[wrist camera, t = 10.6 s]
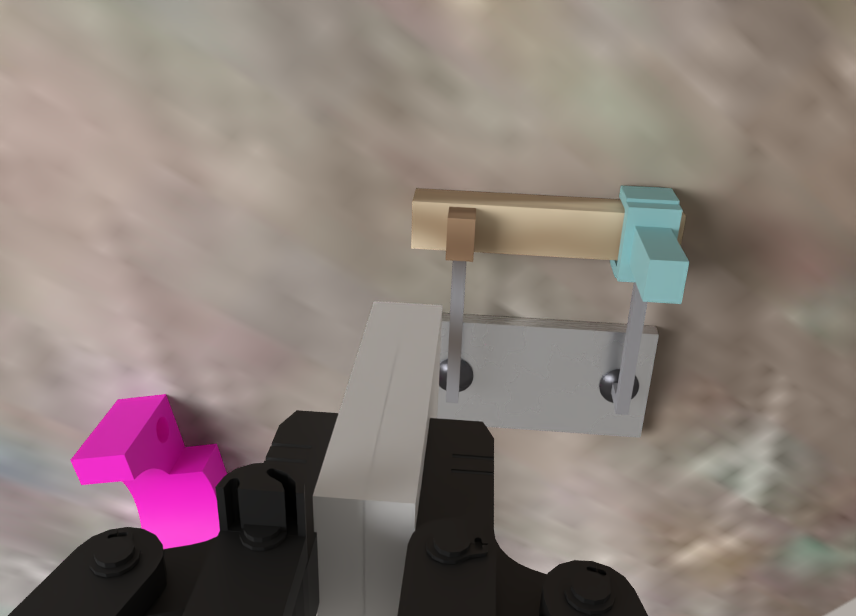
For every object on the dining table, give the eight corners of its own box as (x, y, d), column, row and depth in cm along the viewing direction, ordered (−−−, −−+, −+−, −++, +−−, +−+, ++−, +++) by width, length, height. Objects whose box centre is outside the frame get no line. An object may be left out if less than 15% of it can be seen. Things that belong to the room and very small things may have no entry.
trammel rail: (416, 188, 50) (409, 212, 46) (677, 202, 49) (693, 228, 45) (411, 369, 56) (404, 404, 52) (645, 384, 55) (657, 422, 51)
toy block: (253, 548, 64) (225, 622, 58) (180, 554, 65) (143, 627, 59) (199, 388, 58) (160, 451, 51) (119, 397, 59) (70, 459, 52)
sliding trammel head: (620, 185, 48) (644, 235, 41) (671, 188, 48) (703, 238, 41) (592, 384, 55) (607, 459, 47) (637, 387, 55) (659, 463, 47)
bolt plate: (412, 311, 54) (410, 320, 52) (655, 326, 53) (659, 335, 52) (410, 411, 57) (408, 422, 56) (637, 427, 56) (640, 438, 55)
